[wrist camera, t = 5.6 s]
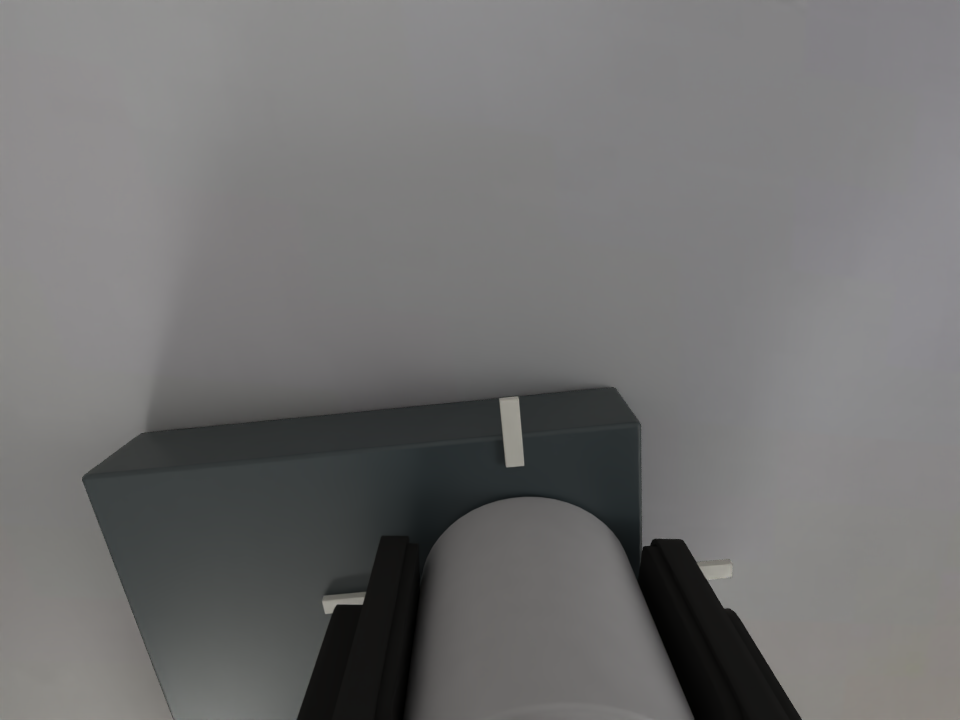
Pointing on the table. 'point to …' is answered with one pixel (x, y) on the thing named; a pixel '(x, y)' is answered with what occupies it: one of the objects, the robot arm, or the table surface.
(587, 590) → the tap knob
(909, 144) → the table surface
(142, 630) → the dial base plate
